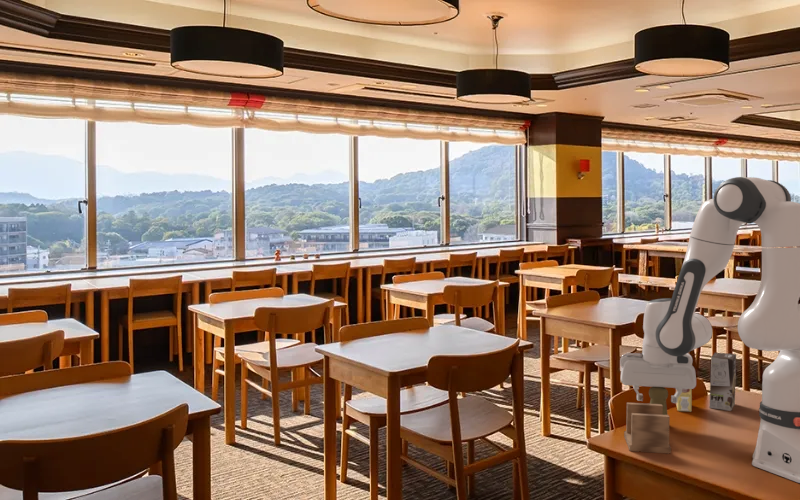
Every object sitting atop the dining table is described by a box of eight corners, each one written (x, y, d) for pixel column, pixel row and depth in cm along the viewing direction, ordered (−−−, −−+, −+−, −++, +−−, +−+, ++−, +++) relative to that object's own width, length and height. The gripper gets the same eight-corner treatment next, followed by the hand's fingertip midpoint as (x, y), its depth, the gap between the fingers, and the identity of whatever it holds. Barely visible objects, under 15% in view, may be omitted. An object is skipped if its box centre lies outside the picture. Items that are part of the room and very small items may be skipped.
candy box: (692, 412, 204) (693, 362, 203) (677, 411, 206) (678, 361, 205) (688, 404, 213) (689, 356, 212) (674, 403, 214) (675, 355, 213)
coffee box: (731, 411, 205) (733, 359, 204) (708, 408, 209) (710, 356, 208) (735, 404, 213) (737, 353, 212) (713, 400, 216) (714, 351, 215)
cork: (670, 429, 189) (671, 390, 189) (648, 427, 190) (649, 389, 190) (666, 422, 195) (667, 385, 194) (645, 420, 196) (645, 384, 196)
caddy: (662, 438, 181) (663, 404, 181) (670, 453, 171) (671, 417, 170) (624, 436, 183) (624, 402, 183) (629, 450, 173) (630, 414, 172)
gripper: (621, 355, 191) (620, 402, 192) (698, 358, 187) (696, 407, 188) (619, 349, 197) (618, 395, 198) (693, 353, 193) (691, 400, 194)
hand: (656, 401), depth 193 cm, fingers open, 8 cm apart
